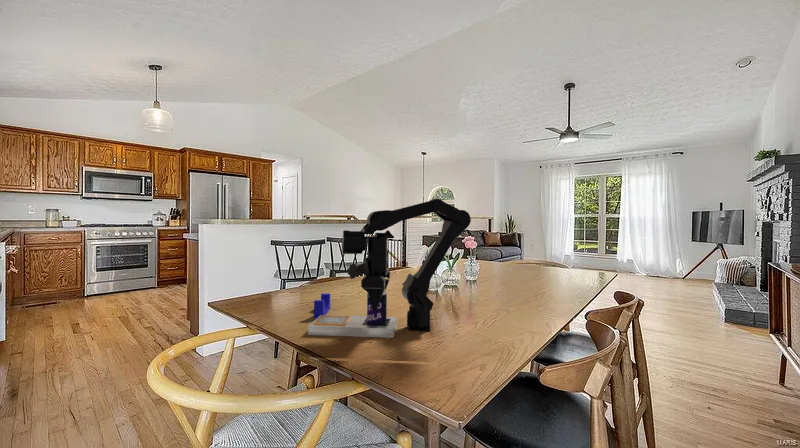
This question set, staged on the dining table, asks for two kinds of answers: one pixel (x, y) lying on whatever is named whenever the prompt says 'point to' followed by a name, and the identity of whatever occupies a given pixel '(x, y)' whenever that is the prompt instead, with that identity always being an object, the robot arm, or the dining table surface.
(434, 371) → the dining table surface
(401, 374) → the dining table surface
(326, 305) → the cable clip
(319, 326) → the grey rectangular slab
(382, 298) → the beverage can
